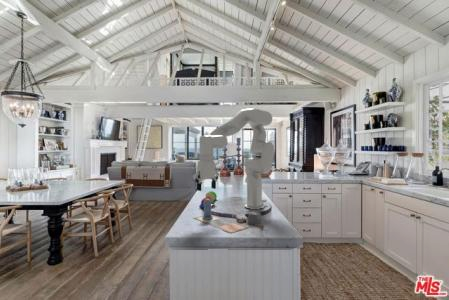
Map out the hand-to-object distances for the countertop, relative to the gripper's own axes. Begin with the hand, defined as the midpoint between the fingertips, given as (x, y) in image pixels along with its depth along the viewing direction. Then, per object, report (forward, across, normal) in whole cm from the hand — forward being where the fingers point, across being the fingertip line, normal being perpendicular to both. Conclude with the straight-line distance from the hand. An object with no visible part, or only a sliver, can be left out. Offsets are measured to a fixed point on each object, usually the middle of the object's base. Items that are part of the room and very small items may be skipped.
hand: (206, 189), depth 149 cm
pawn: (+16, -1, 0) cm, 16 cm away
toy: (+16, -18, -22) cm, 32 cm away
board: (+16, -1, +10) cm, 19 cm away
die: (+16, -15, +22) cm, 31 cm away
